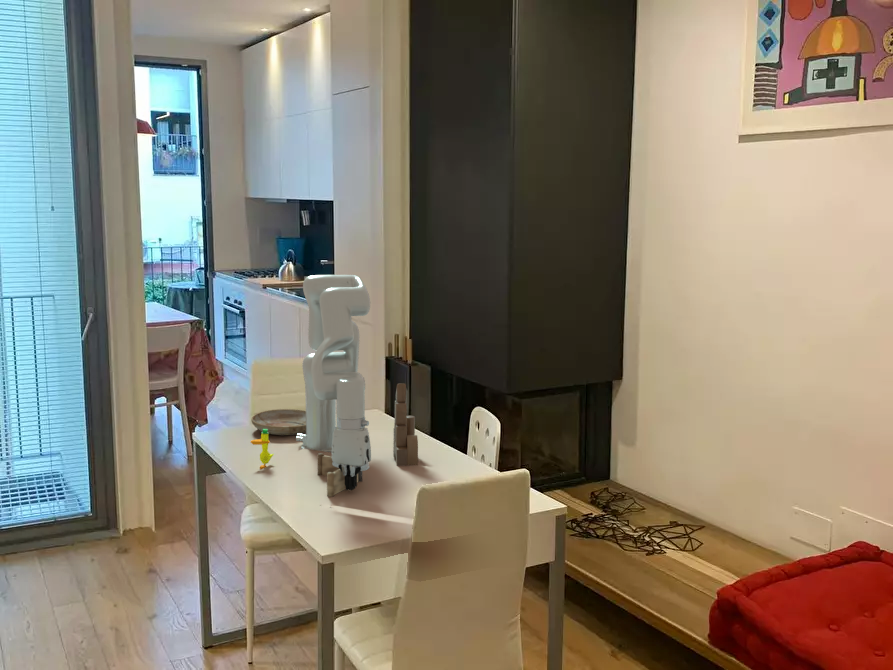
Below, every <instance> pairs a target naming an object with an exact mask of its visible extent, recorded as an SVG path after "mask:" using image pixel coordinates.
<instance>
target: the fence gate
mask: <svg viewBox="0 0 893 670" xmlns="http://www.w3.org/2000/svg"><path fill="white" fill-rule="evenodd" d="M350 466H351V465H350ZM326 480H327V481H326V496H327V497H328V498H333V497H335V495H336V494H339V493H340V492H342V491H345V490H346V486H345V476H344V475H343V472H342V471H341V470H340V469H338V470H336V471H334V472H328V473H327V476H326ZM357 483H359V482H358V474H357Z"/></svg>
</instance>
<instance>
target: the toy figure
mask: <svg viewBox="0 0 893 670" xmlns="http://www.w3.org/2000/svg"><path fill="white" fill-rule="evenodd" d="M260 432H261V435H260V438H259V439H252V440H250V444H252V445H255V446H256V445H260V446H261V449H262V450H261V452H260V454H259V460H260V462H261V463H262V465H259V470H263V469H265V468H267V465H266V464H269V462H270V460H271V459H272V457H273V456H274V455H275V454H274V453H270V452H269V450H268V449H269V444H271V443H270V440H269V433H268V429H263V431H260Z"/></svg>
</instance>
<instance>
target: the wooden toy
mask: <svg viewBox="0 0 893 670" xmlns="http://www.w3.org/2000/svg"><path fill="white" fill-rule="evenodd" d="M406 395H407V385H406V383H397V384H396V391H395V400H394V425H393V427H394V428H393V443H392V445H393V446H392V447H393V450H392V451H393V452H392V455H393V459H394V460H395V464H396V467H407V466H418V465H419V439H418V435H417V434H415V433H416V432H415V431H416V423H415V422H416V417H415V416H414V415H407V414H408V410H407V402H406V401H407V396H406Z"/></svg>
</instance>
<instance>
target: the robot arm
mask: <svg viewBox="0 0 893 670" xmlns="http://www.w3.org/2000/svg"><path fill="white" fill-rule="evenodd" d="M302 290H303V294H304V297H305V300H306V303H307V305H308V328H307V330H308V332H307V335H308V344H309V347H310V349H311V350H314V351H315V352H313V353H308V354H307V355H306V356H305V357H304V358H303V359H302V362H301V363H302V364H301V365H302V366H301V367H302V373H303V378H304V379H303V380H304V389H305V411H306V432H305V433H301V434H300V433H298V434H296V437H295V440H296V441H298V442H302V444H301V446H300V450H304V449H305V450H310V451H311V450H313V451H318V452H326V453H331V456H332V461H333V463H332V465H333V466H335V467H338V468H339V469H340V470H341V471H342V472H343V475H344V476H345V486H346V489H345V491H353V490H355V489H356V487H357V485H358V482H357V474H358V473H359V472H360V471H362V472H363V471H368V470H369V469H370V464H369V463H370V462H371V461H372V448H371V447H372V446H371V440H370V432H369V429H368V426H369V424H370V421H369V420H367V419H366V415H365V407H366V406H365V405H366V404H365V401H366V400H365V393H366V391H365V390H366V380H365V377H363V375H362V373H360V372H358V371H359V358H360V357H359V355H360V354H359V353H360V330H359V326H358V325H357V323H356V322H355V321H353V320H352V317H357V316H358V317H362V316H363V317H364V316H367V315H368V314H369V312H370V310H371V297H370V292H369V291H368V288H367V287H366V285H365V283H364V282H363V280H362V278H361V277H360V276H358V275H355V274H315V275H313V274H312V275H309V276H306V277H305V278H304V280H303V282H302ZM350 465H351V466H350Z"/></svg>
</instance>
